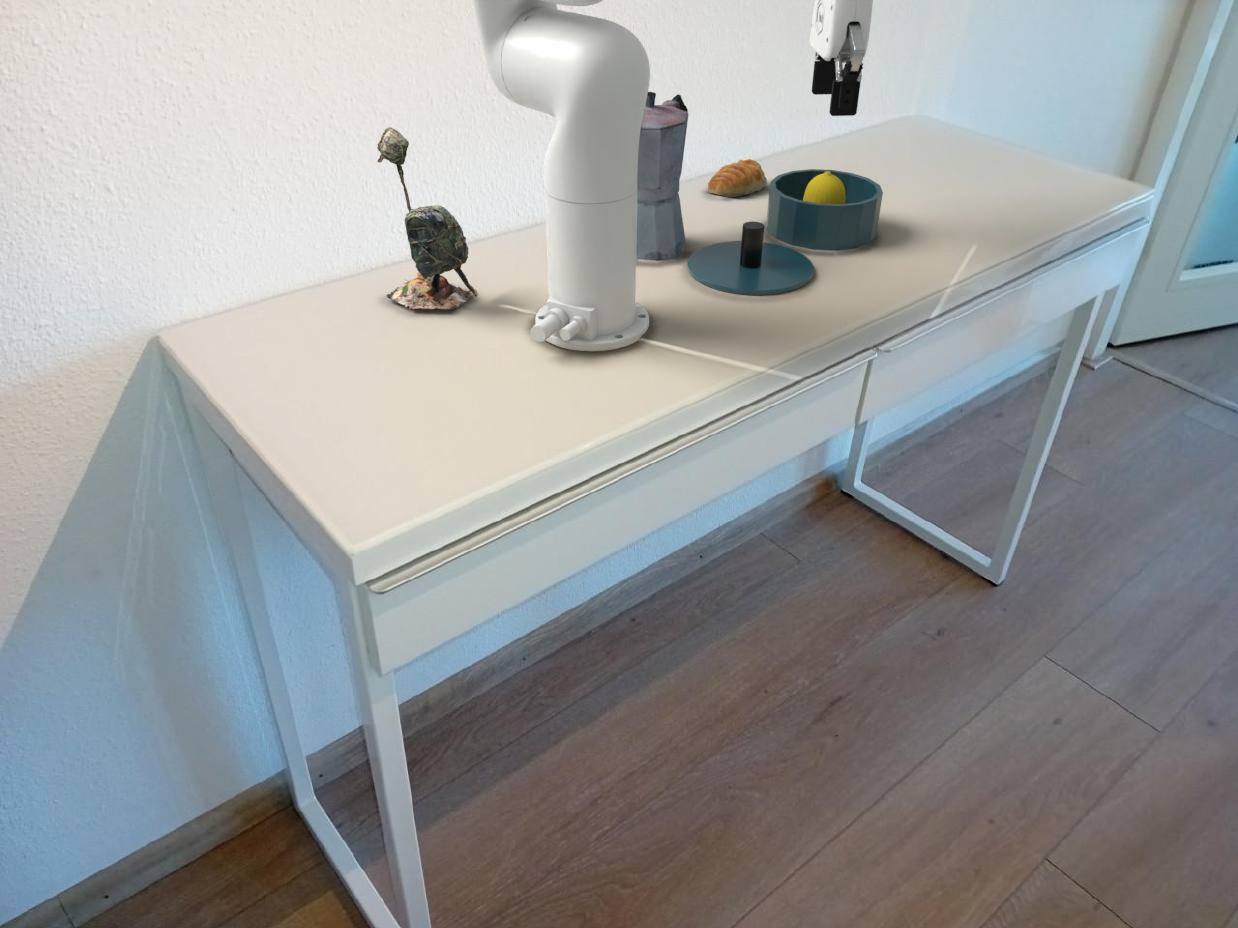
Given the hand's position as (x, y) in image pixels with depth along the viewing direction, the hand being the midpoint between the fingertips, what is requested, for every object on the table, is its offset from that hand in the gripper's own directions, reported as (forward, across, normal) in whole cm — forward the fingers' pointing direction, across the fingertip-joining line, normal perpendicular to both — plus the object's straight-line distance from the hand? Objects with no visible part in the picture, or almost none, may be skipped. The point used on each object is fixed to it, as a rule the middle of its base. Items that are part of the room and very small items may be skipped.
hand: (832, 104), depth 122 cm
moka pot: (+17, +5, -23) cm, 29 cm away
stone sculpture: (+16, +19, -49) cm, 55 cm away
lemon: (+17, 0, 0) cm, 17 cm away
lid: (+16, +13, -12) cm, 24 cm away
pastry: (+17, -18, -8) cm, 26 cm away
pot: (+17, 0, 0) cm, 17 cm away
